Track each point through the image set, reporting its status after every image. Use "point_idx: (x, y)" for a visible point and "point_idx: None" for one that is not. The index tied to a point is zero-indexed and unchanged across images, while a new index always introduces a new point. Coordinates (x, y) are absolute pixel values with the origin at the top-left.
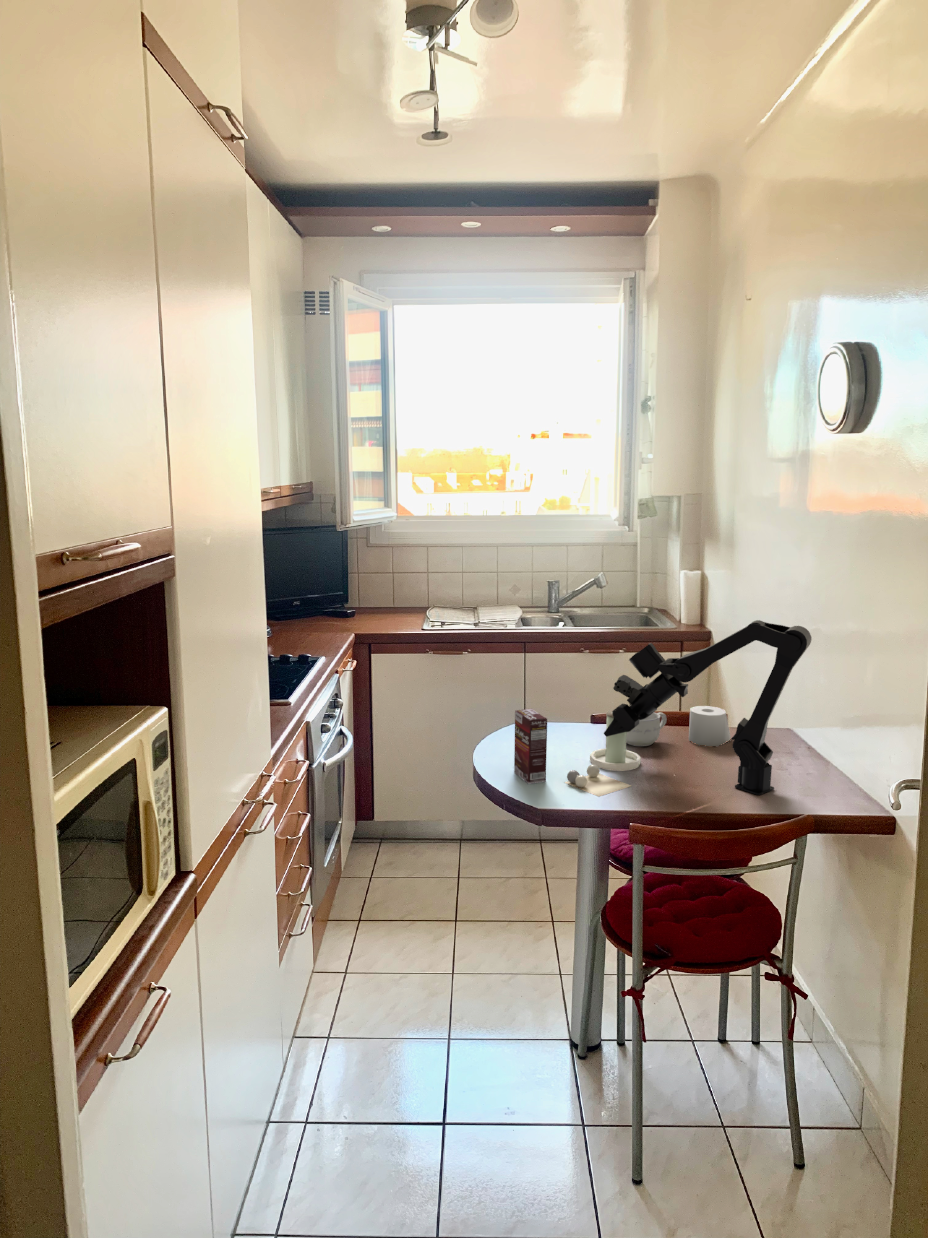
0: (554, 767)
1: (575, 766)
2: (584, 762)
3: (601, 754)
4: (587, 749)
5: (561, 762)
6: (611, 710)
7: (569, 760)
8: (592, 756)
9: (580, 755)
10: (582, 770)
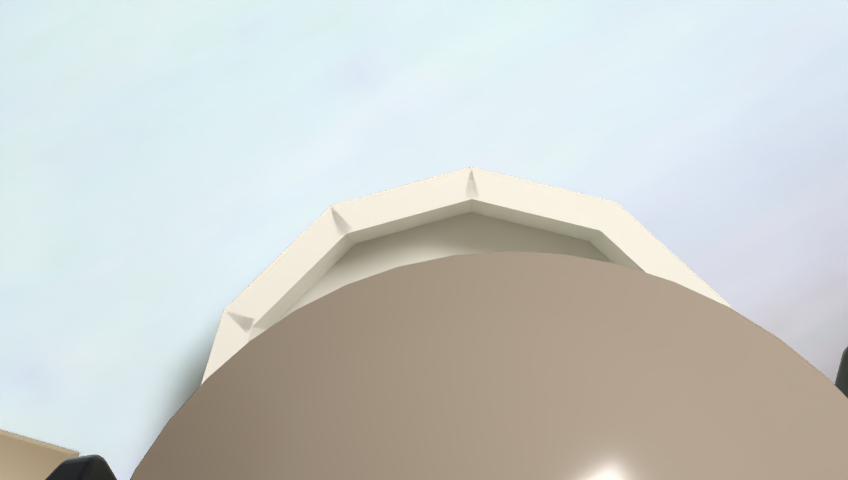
0: (31, 35)
1: (167, 168)
2: (323, 177)
3: (564, 231)
4: (694, 3)
5: (190, 12)
6: (687, 337)
7: (286, 38)
8: (300, 253)
9: (484, 43)
10: (103, 279)
